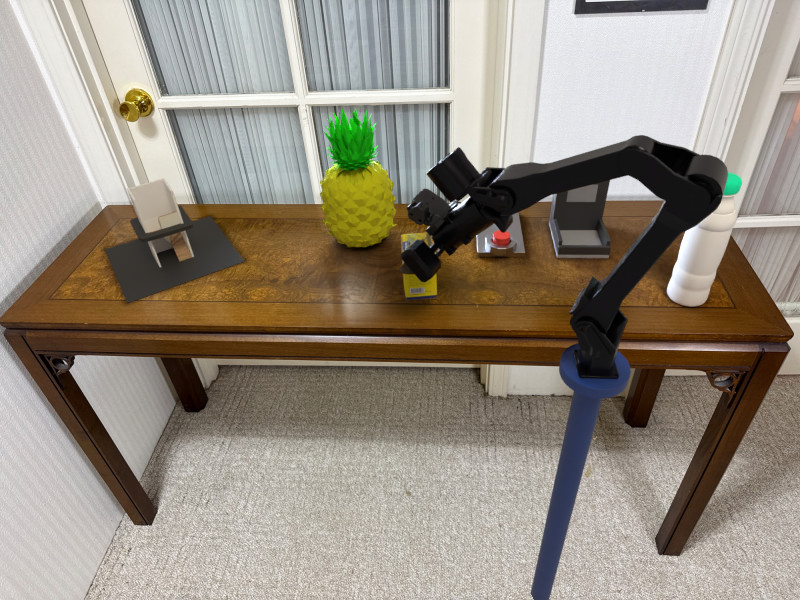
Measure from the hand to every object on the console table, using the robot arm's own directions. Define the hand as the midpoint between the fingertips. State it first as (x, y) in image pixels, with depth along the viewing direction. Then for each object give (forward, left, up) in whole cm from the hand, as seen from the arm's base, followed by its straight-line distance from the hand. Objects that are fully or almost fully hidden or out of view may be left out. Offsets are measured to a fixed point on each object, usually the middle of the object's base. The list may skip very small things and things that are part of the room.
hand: (412, 259), depth 103 cm
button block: (+25, -18, -10) cm, 32 cm away
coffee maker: (+23, -35, -10) cm, 43 cm away
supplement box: (-1, -1, -7) cm, 7 cm away
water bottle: (+3, -52, -10) cm, 53 cm away
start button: (+18, -18, -8) cm, 26 cm away
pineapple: (+23, +13, -10) cm, 29 cm away
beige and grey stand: (+16, +55, -10) cm, 59 cm away
